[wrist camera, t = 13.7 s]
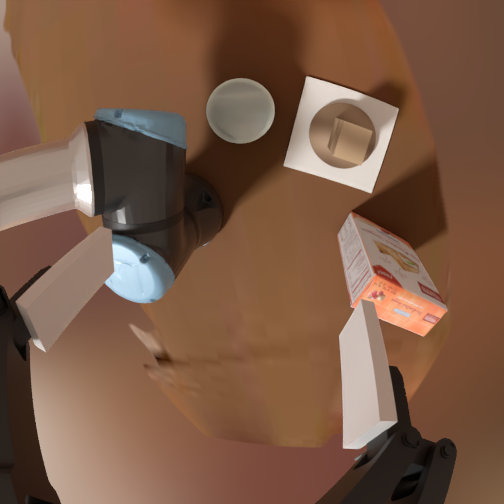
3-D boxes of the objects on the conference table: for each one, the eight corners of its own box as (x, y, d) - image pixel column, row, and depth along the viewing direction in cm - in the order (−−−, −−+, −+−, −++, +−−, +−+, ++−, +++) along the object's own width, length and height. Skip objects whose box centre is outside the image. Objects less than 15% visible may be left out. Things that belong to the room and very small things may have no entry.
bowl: (270, 144, 45) (265, 150, 39) (213, 131, 45) (201, 136, 39) (284, 88, 39) (281, 85, 34) (224, 77, 40) (213, 73, 34)
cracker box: (409, 239, 48) (450, 310, 30) (393, 263, 51) (423, 339, 34) (351, 207, 48) (377, 274, 30) (335, 234, 51) (349, 310, 33)
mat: (370, 192, 45) (371, 193, 45) (283, 165, 46) (283, 165, 45) (397, 108, 37) (398, 108, 37) (306, 76, 38) (306, 76, 37)
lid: (362, 175, 44) (377, 194, 35) (301, 155, 44) (301, 169, 35) (381, 116, 38) (402, 120, 29) (318, 94, 38) (323, 90, 30)
